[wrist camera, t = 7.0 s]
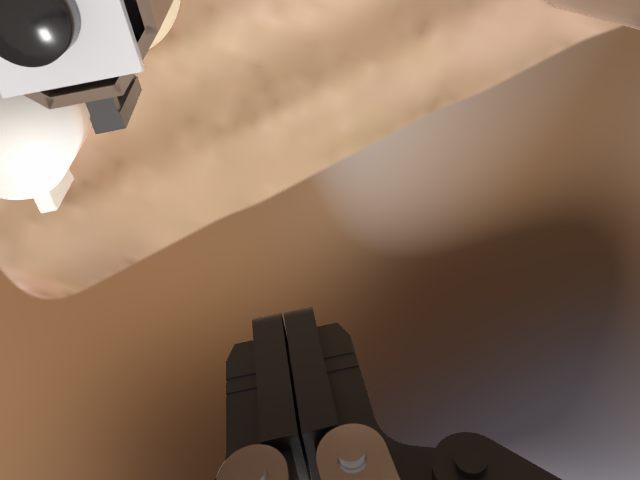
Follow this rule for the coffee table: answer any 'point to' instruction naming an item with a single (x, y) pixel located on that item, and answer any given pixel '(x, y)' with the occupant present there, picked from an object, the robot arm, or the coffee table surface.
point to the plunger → (37, 30)
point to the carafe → (97, 61)
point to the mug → (39, 149)
